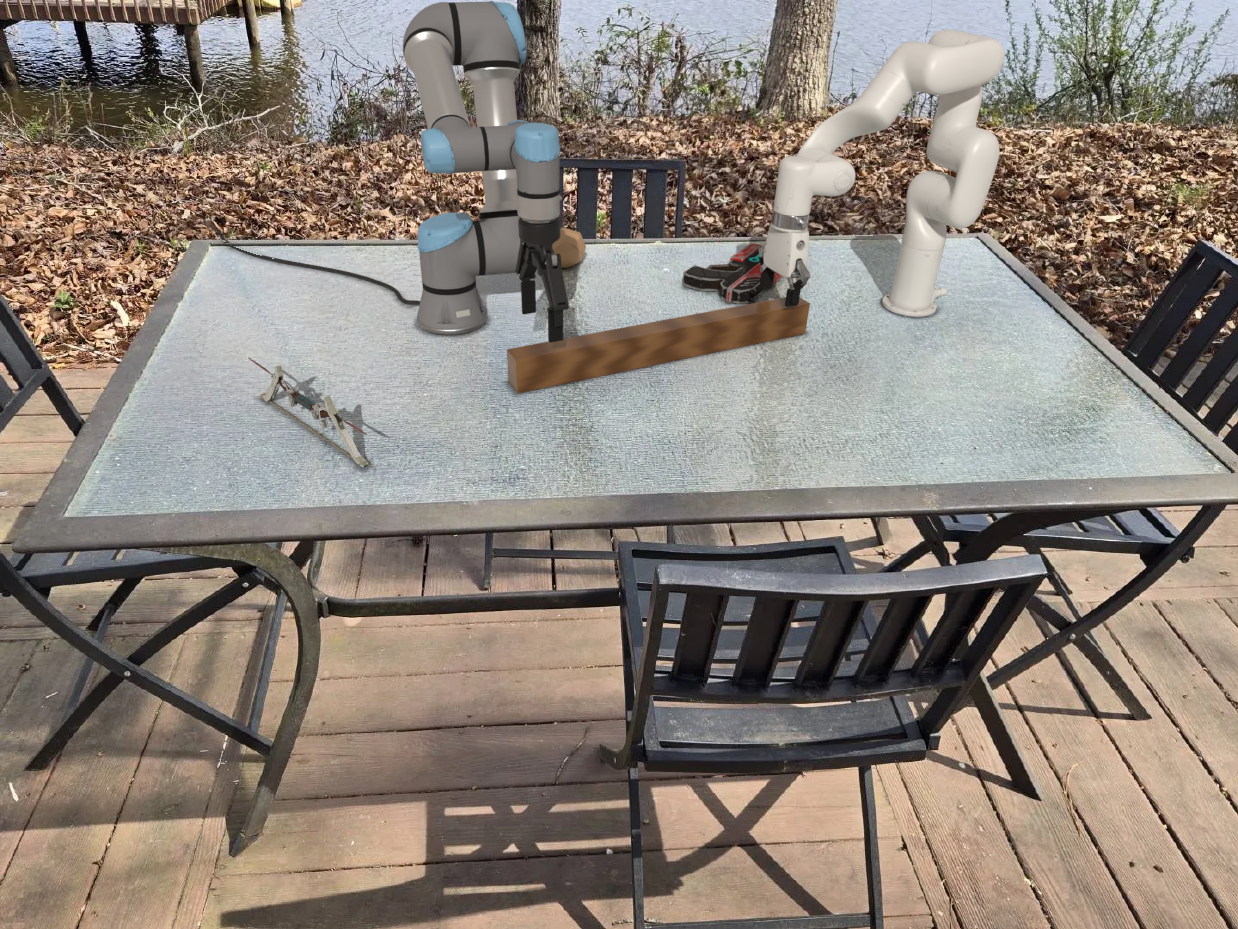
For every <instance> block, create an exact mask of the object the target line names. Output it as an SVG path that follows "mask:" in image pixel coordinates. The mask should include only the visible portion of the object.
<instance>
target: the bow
mask: <svg viewBox="0 0 1238 929" xmlns="http://www.w3.org/2000/svg"><path fill="white" fill-rule="evenodd" d="M247 358H248V359H249V360H250V361H251V362H252V363H253V364H255V365H256V366H257V367H259V368H260V369H262V370H263V371H265V372H266V373H268V374H269V375H271V379H270V380H271V381H270V384H269V385H268V387H267V389H266V392H262V393H260V394H259V397H260V399H261V400H262V401H264V402H269V403H271V404H272V405H274V406H276V407H277V408H278V409H280V410H281V411H283V412H284V413H286V414H287V415H288V416H290V417H291V418H293V419H294V420H296V421H297V422H298V423H300V424H302V425H303V426H305V427H306V428H308V429H309V430H311V431H312V432H313V433H315V434H316V435H318V436H319V437H320V438H323V440H324V441H327V442H328V443H330V444H331V445H332V446H334V447H335V448H337V449H338V450H339V451H341V452H343V453H344V454H345V455H347V456H348V457H350V458H351V459H353V461H354V462H355V463H356V465H357V466H359V467H360V468H365V466H370V463H369V462H368V460H366V459H365V458H364V457H363V456H362V454H361V453H360V451H359V449H358V448H357V445H356V444H355V441H354V440H353V438H352V436H351V435H350V433H349V431H348V430H347V426H346V425H348V426H350V427H351V428H353V429H354V430H356V431H357V432H359V433H361V434H363V435H365V436H368V433H366V432H365V431H363V430H362V429H360V428H359V427H357V426H356V425H354V424H352V423H350V422H349V421H347V420H344V419H343V417H342V416H341V414H340V413H339V411H338V409H337V408H336V406H335V404H334V402H333V400H332V397H331V396H330V395H327V396H324V397H323V402H324V403H323V402H322V401H321V402H318V403H316V404H315V402H314V401H313V400H312V399H311V398H309V397H307V395H304V394H301V392H300V389H299V386H293V385H292V384H290V383H289V381H287V380H285V379H284V372H283V367H282V365H281V364H279V365H276V366H275V367H274V372H273V373H271V372H270V371H269V370H268V369H267V368H265V367H264V366H263V365H262V364H260V363H259V362H257V361H256V360H254V359H252V358H251V357H249V356H248V357H247ZM280 387H281V388H282V389H283V390H284V392H285V393H286V396H287V398H288V406H289V407H290V408H291V409H293V408H294V407H298V405H300V406H301V407H303V408H305V409H306V410H307V411H309V412H311V416H312V418H313V419H314V420H317V421H319V425H320V428H321V429H322V430H324V429H326V428H329V427H330V426H329V422H328V420H327V418H330V420H331V421H332V423H333V425H334V427H335V429H336V431H337V432H338V435H339V437H340V439H341V441H342V443H343V444H344V445H345V447H346V448H345V449H347V452H346V451H345V450H344V449H342V448H340V447H339V446H338V445H336V444H335V443H333V442H332V441H330V440H328V439H327V438H326V437H324V436H323V435H321V434H320V433H319V432H317V431H316V430H314V429H312V428H311V427H310V426H308V425H307V424H305V423H304V422H302V421H301V420H299V419H297V417H295V416H293V414H291V413H289V412H288V411H286V410H285V409H283V408H282V407H281V406H279V405H278V404H276V403H274V402H273V401H272V400H274V399H275V398H276V396H277V394H278V392H279V390H280ZM344 423H345V424H346V425H345V424H344Z"/></svg>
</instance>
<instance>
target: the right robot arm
mask: <svg viewBox="0 0 1238 929" xmlns="http://www.w3.org/2000/svg"><path fill="white" fill-rule="evenodd" d="M1004 63H1005V48H1004V47H1003V45H1002V44H1001V42H1000V41H999V40H997V39H996V38H993V37H990V36H985V35H981V34H977V33H976V34H975V33H970V32H967V31H961V30H955V29H942V30H939V31H937V32H935V33H934V34H932V35H931V37H930V38H929V40H928V42H927V43H926V42H923V41H914V40H913V41H905V42H903V43H901V44H900V45H899V46H897V47H896V49H895V50H893V52H892V53H891V54H890V56H889V57H888V59H887V60H886V61H885V63H884V64H883V65H882V67H881V68H880V69H879V71H878V72H877V73H876V74H875V75H874V77H873V78H872V80H871V81H870V83H869V84H868V85H867V87H865V89H864V90H863V92H861V94H860V96H859V97H858V98H857V99H856V100H855V101H854V102H853V103H851V104H850V105H847V106H846V107H844V108H842V109H841V110H839V111H838V112H836V113H835V114H833V115H832V116H830V117H829V118H827V119H825V120H824V121H823V122H822V123H819V125H818V126H817V127H816V128H815V129H814V130H813V132H812V133H810V135H809V136H808V138H807V139H806V140H805V141H804V143H803V144H802V146H801V147H800V149H799V150H798V152H797V154H796V155H791V156H786V157H784V158H783V159H781V161H780V163H779V165H778V171H777V172H778V173H777V181H776V187H775V195H774V202H773V208H772V215H771V222H770V225H769V227H768V231H767V235H766V239H765V244H764V246H762V247H760V248H759V256H760V258H759V262H760V265H761V267H760V271H761V272H762V273H761V279H760V286H759V289H760V290H761V291H762V290H766V291H768V290H772V289H773V287H774V285H773V281H774V273H775V272H776V273H778V274H780V275H781V276H783V277H782V278H785V279H786V280H787V283H788V287H789V288H787V289H786V295H785V297H786V300H785V306H786V307H791V306H797V305H798V304H799V298H801V291H802V290H803V289H804V287H805V286H806V285H807V283H808V281H809V280H810V278H811V272H810V271H809V269H808V262H809V252H810V231H809V230H808V227H809V221H810V214H811V208H812V202H813V198H814V196H822V197H838V196H842V195H844V194H846V193H848V192H849V191H850V190H851V189H852V187H853V186H854V184H855V181H856V170H855V168H854V166H853V165H852V164H851V162H850V161H848V160H846V159H844V158H843V157H840V156H837V155H835V154H834V153H835V152H836V151H837V150H838V149H839V148H840V147H841V146H842V145H843V144H845V143H846V142H848V141H850V140H852V139H854V138H858V137H860V136H861V137H862V136H865V135H870V134H873V133H878V132H882V131H885V130H887V129H888V128H889V127H891V125H892V124H893V123H894V121H895V120H896V119H897V118H898V116H900V114H901V112H902V111H903V109H904V108H905V107H906V106H907V104H908V103H909V102H910V101H911V99H913V97H914V96H915V94H916V93H917V92H921V93H923V94H928V95H932V96H939V97H938V98H939V99H938V102H937V108H936V111H935V116H934V119H933V122H932V126H931V130H930V134H929V138H928V140H927V145H926V157H927V159H928V161H930V163H932V164H934V165H936V166H938V167H940V168H943V169H946V170H949V171H951V172H954V173H956V176H952V175H950V174H947V173H945V172H941V171H937V170H925V171H923V172H920V173H918V174H917V175H916V176H915V177H913V178H912V179H911V181H910V183H909V185H908V188H907V191H906V195H905V196H906V198H905V208H906V209H905V222H904V227H903V228H904V229H903V233H902V238H901V243H900V248H899V253H898V257H897V260H896V261H897V262H896V266H895V271H894V276H893V281H892V286H891V290H890V293H887V294H885V295H884V296H883V298H882V301H881V305H882V306H883V307H884V308H885V310H888V311H889V312H892V313H894V314H896V315H901V316H905V317H913V318H922V317H923V318H924V317H928V316H932V315H933V314H935V313H936V312H937V308H938V305H937V303H936V302H935V300H936V299H937V298H939V297H945V296H946V295H947V294H948V289H947V288H946V287H940V288H936V283H937V278H938V275H939V270H940V266H941V263H942V258H943V253H944V249H945V246H946V241H947V233H948V232H947V230H948V229H947V226H948V227H951V228H954V229H958V230H961V229H966V228H968V227H970V226H971V225H973V224H974V223H975V222H976V221H977V220H978V218H979V216H980V215H981V213H982V211H983V209H984V206H985V204H986V200H987V198H988V194H989V191H990V189H991V185H992V183H993V182H992V181H993V178H994V176H995V173H996V170H997V167H998V162H999V159H1000V142H999V140H998V138H997V136H996V135H995V134H994V133H992V132H991V131H989V130H987V129H984V128H981V127H977V122H978V121H977V120H978V116H979V112H980V108H981V105H982V101H983V85H986V84H988V83H989V82H990V81H992V80H993V79H995V78H996V76H997V75H998V74H999V73H1000V71H1001V70H1002V68H1003V65H1004ZM772 270H773V271H772ZM774 271H775V272H774ZM794 279H796V281H795V282H794Z"/></svg>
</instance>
